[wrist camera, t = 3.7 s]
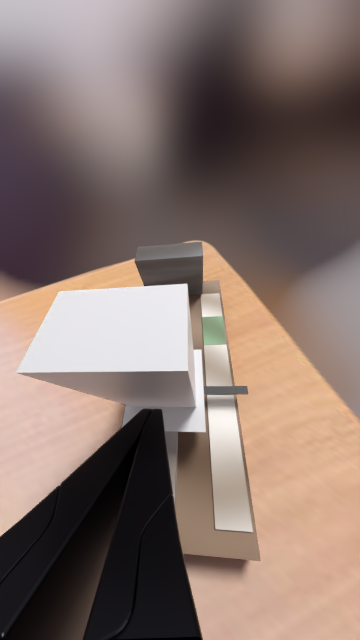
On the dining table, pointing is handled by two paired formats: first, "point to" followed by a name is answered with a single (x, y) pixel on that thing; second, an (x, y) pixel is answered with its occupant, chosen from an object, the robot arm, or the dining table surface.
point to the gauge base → (206, 420)
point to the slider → (126, 352)
